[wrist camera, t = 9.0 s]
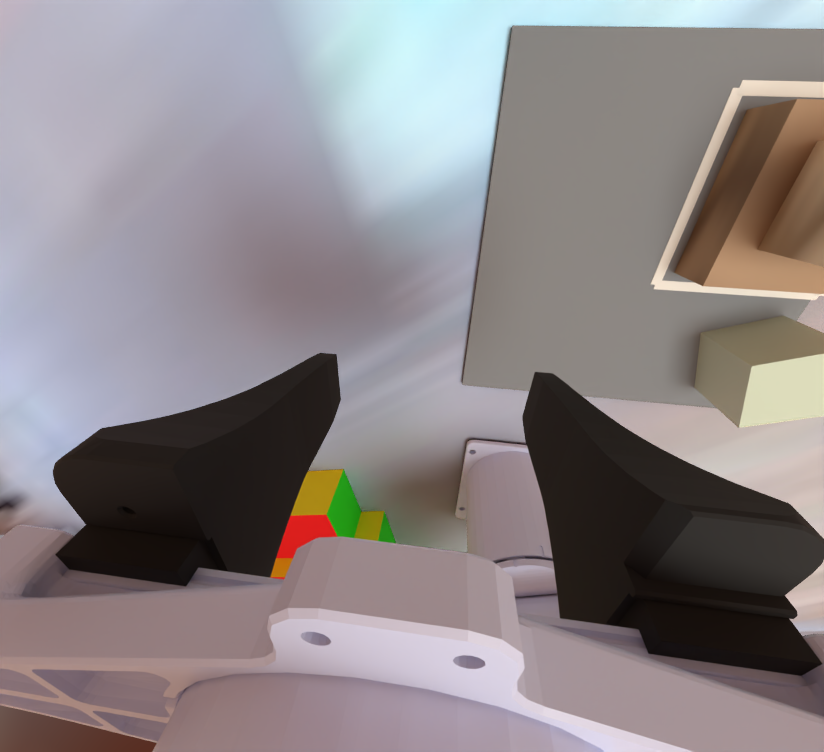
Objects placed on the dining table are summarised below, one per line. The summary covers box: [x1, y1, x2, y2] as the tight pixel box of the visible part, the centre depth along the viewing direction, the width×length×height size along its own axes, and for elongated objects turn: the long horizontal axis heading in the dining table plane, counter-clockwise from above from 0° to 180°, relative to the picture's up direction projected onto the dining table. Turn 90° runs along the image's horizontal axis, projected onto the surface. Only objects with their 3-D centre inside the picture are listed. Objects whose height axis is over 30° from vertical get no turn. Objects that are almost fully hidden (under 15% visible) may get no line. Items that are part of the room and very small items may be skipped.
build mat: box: [462, 26, 824, 408], centre depth 18 cm, size 18×18×1 cm
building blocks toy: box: [270, 469, 396, 579], centre depth 30 cm, size 19×25×18 cm
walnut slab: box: [674, 99, 824, 294], centre depth 15 cm, size 7×7×2 cm
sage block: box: [694, 316, 824, 428], centre depth 18 cm, size 4×4×4 cm
